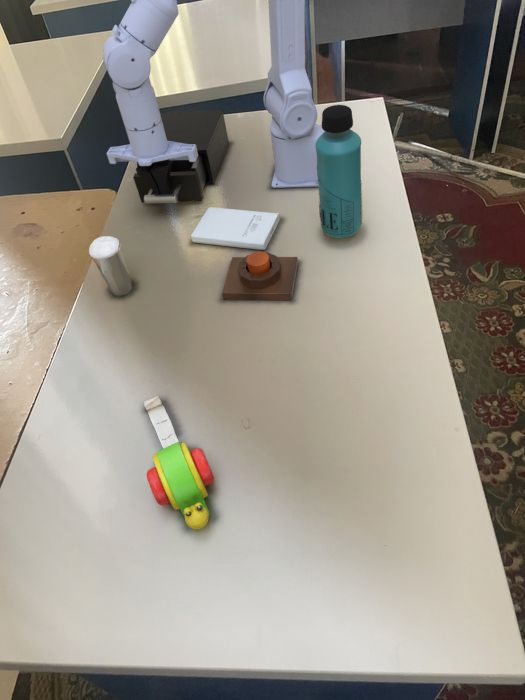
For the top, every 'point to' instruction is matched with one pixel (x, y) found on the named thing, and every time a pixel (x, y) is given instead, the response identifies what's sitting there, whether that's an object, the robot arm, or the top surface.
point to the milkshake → (111, 264)
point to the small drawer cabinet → (200, 136)
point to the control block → (261, 280)
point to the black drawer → (178, 183)
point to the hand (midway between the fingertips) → (164, 198)
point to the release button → (258, 262)
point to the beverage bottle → (339, 173)
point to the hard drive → (236, 228)
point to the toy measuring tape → (178, 470)
